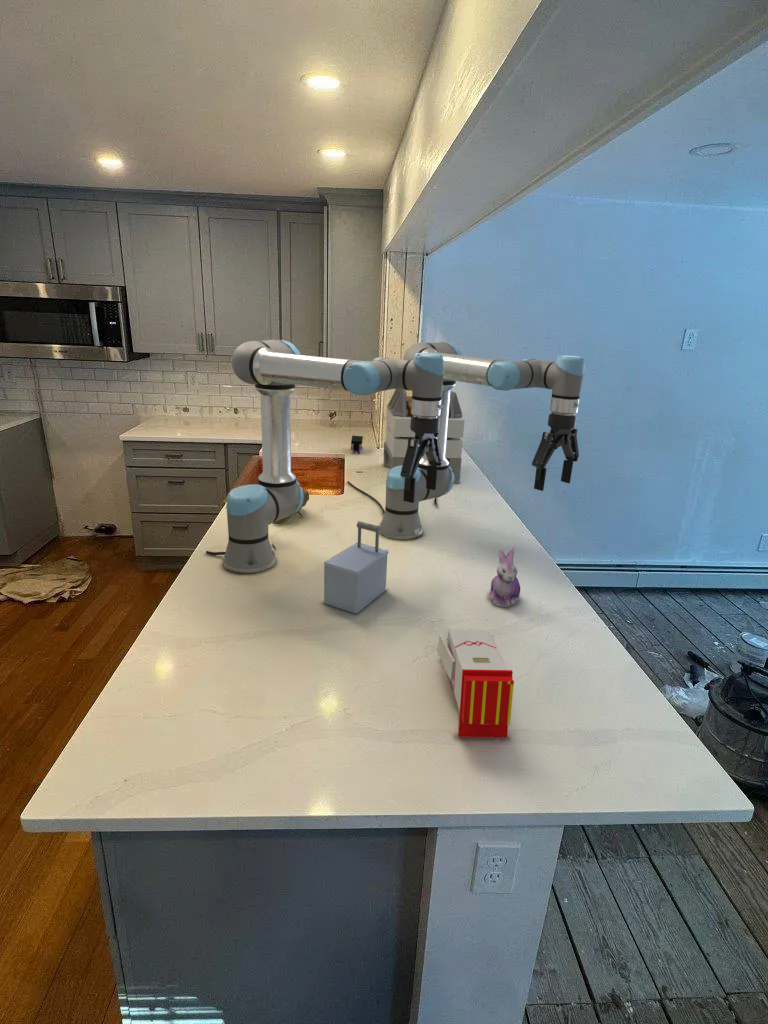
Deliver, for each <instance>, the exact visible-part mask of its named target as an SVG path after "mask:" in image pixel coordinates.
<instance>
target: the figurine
mask: <svg viewBox="0 0 768 1024" xmlns="http://www.w3.org/2000/svg"><path fill="white" fill-rule="evenodd" d="M514 558H515V548H514V547H512V548H511V549H509V551H508V553H507V555H506V554H505V551H503V549H501V548H499V549H498V565H497V568H496V574H497V575H495V576H494V577H493V578H492V579H491V582H490V591H489V599H490V600H491V601H492V602H493V604H494V605H495V606H497V607H503V608H507V607H510V606H514V605H516V603H518V601H519V597H520V594H521V584H520V581H519V579H518V577H517V576H518V569H517V567H516V564H515V561H514Z"/></svg>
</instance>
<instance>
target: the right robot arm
mask: <svg viewBox="0 0 768 1024" xmlns="http://www.w3.org/2000/svg"><path fill="white" fill-rule="evenodd" d="M417 353H435V354H440V355H442V356H443V358H444V376H443V387H442V400H441V405H442V408H441V412H440V415H439V416H438V417H439V418H440V427H439V443H440V450H441V457H442V461H441V463H442V464H441V466H437V467H438V469H437V481H436V490H432V489H427V488H426V480H427V466H428V465H430V464H429V462H428V459H427V456H426V453H425V454H424V456H422V457H421V460H420V462H419V465H418V468H417V470H416V473H415V476H414V478H416V480H415V496H414V503H410V502H406V501H403V500H404V483H405V477H401V476H400V473H401V470H402V466H403V465H401V466H396V467H394V468H392V469H390V468H389V470H388V472H387V474H386V479H385V504H384V505H385V507H384V508H385V509H384V508H383V506H382V504H381V503H380V502H379V501H378V500H377V499H376V498H375V497H373V496H372V495H371V494H369V493H367V492H365V491H364V490H362V489H360V488H359V487H357V486H355V485H354V484H353V483H352V482H350V480H347V481H346V483H347V484H348V485H349V486H351V487H352V488H353V489H355V490H356V491H358V492H360V493H361V494H363V495H365V496H366V497H367V498H370V499H371V500H372V501H374V502H375V503H376V504H377V505H378V506H379V508H380V510H381V511H382V514H383V515H382V519H381V522H379V526H380V527H381V530H380V532H379V535H381V536H382V537H385V538H387V539H389V540H395V541H410V540H415V539H418V538H420V537H421V536H422V535H423V525H422V524H421V518H420V515H419V507H420V506H419V505H420V502H423V501H427V500H431V499H435V498H440V497H443V496H446V495H448V493H450V492H451V490H452V489H453V488H454V487H453V486H454V484H455V483H454V473H452V469H451V467H450V466H449V462H448V461H447V459H446V458H445V453H446V441H447V428H448V416H449V404H450V392H451V391H452V389H453V388H454V387H455V386H456V384H457V382H461V383H465V384H473V385H479V386H487V387H491V388H492V389H494V390H496V391H503V392H504V391H511V390H520V389H532V388H533V389H534V388H539V389H546V390H551V398H550V404H549V413H548V418H547V419H548V420H547V426H548V427H549V428H550V431H549V432H548V431H543V432H542V435H541V440H540V442H539V445H538V447H537V449H536V452H535V454H534V457H533V460H532V461H531V466H533V467H535V475H534V477H535V478H534V485H533V489H534V490H537V491H539V492H543V491H544V489H545V484H546V483H545V482H546V476H547V468H546V466H547V465H548V463H549V461H550V459H551V457H552V456H553V454H554V453H555V451H556V450H557V449H558V448H560V447H561V449H562V452H563V455H564V458H565V459H563V463H562V468H561V469H562V470H561V475H560V482H562V483H566V484H571V478H572V472H573V466H574V463H576V462H578V461H579V457H580V453H579V444H578V428H576V423H577V419H578V416H577V414H578V412H579V411H578V410H579V406H580V397H581V391H582V385H583V380H584V376H585V365H586V360H585V358H584V357H582V356H578V355H566V354H565V355H564V354H563V355H558V356H557V357H556V360H555V361H549V360H541V359H536V358H524V359H521V360H506V359H505V360H504V359H503V360H502V359H496V358H487V357H479V356H471V355H464V354H463V352H462V350H461V349H460V347H459V346H457V345H456V344H455V343H451V342H445V341H443V342H442V341H441V342H440V341H439V342H438V341H437V342H417V343H414V344H412V345H411V346H409V347H408V348H407V350H406V351H405V353H404V355H403V358H402V360H414V356H415V354H417Z"/></svg>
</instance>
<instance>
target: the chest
mask: <svg viewBox="0 0 768 1024" xmlns="http://www.w3.org/2000/svg"><path fill="white" fill-rule="evenodd" d="M323 570H324V571H323V574H324V575H323V604H326V605H328V606H331V607H333V608H334V607H335V608H338V609H341V610H343V611H347V612H350V613H352V614H356V615H357V614H358V613H359V612H360V611H362V610H363V609H364V608H366V607H367V606H368V605H369V604H371V602H373V601H374V600H375V599H377V598H378V597H379V596H380V595H382V594H383V593H384V592H385V591H386V590H387V573H388V554H387V555H386V556H384V557H383V558H382V559H380V560H379V561H377V562H376V563H374V564H373V565H371V566H370V567H369V568H367V569H366V570H364V571H363V572H361V573H360V574H359V575H355V574H351V573H348V572H344V571H341V570H338V569H334V568H331V567H328V566H324V565H323Z"/></svg>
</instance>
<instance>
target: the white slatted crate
mask: <svg viewBox="0 0 768 1024" xmlns="http://www.w3.org/2000/svg"><path fill="white" fill-rule="evenodd" d="M407 394H408V393H407V390H400V389H394V392H393V394H392V395H391V398H390V400H389V402H388V404H387V405H386V413H385V414H386V415H385V423H386V428H385V438H384V442H383V466H384V467H388V468H389V470H390V469H392V468H394V467H396V466H401V465H403V462H404V458H405V455H406V451H407V447H408V439H409V438H413V439H414V437H415V432H413V431H411V429H410V423H411V417H412V416H413V415H412V414H411V405H412V395H407ZM464 429H465V419H464V418H463V411H462V408H461V405H460V402H459V398H458V395H457V392H455V391H453V390H451V392H450V404H449V416H448V428H447V441H446V453H445V458H446V459H447V461H448V462H449V466H450V467H451V469H452V473H454V484H455V483H456V484H459V483H461V472H462V461H463V460H462V453H463V442H464V441H463V440H462V439H463V438H464V431H465V430H464Z"/></svg>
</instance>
